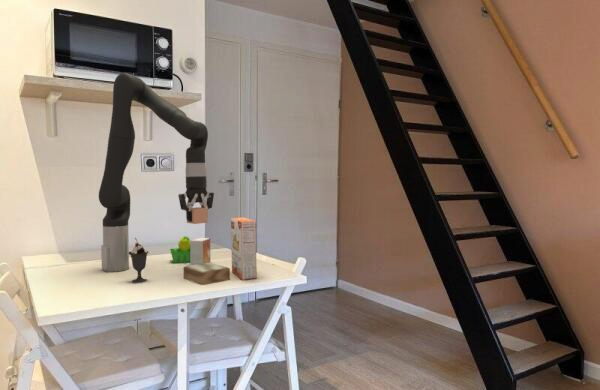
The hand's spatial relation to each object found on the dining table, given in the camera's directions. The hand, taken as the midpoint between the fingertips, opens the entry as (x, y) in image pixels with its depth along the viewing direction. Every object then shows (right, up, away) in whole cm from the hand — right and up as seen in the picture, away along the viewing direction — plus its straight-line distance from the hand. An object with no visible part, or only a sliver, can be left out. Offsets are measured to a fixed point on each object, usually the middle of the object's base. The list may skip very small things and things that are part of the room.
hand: (197, 220), depth 165 cm
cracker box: (+18, -20, -2) cm, 27 cm away
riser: (+5, -20, -7) cm, 22 cm away
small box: (-2, -19, +17) cm, 26 cm away
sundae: (-18, -21, -11) cm, 29 cm away
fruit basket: (-11, -19, +23) cm, 32 cm away
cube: (0, -1, 0) cm, 1 cm away
